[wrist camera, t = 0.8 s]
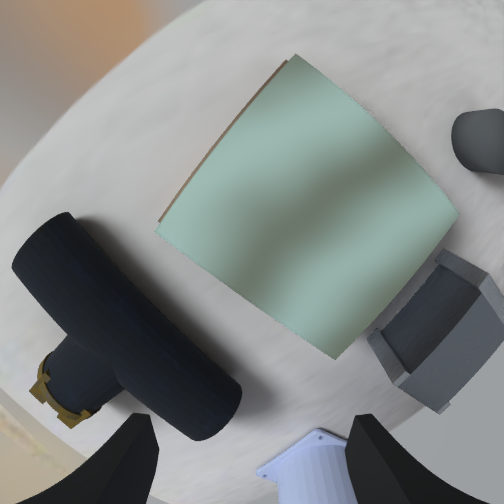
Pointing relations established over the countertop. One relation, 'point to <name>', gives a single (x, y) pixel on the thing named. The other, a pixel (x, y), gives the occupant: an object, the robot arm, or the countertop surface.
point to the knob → (480, 140)
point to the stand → (309, 209)
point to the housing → (442, 332)
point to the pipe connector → (115, 339)
